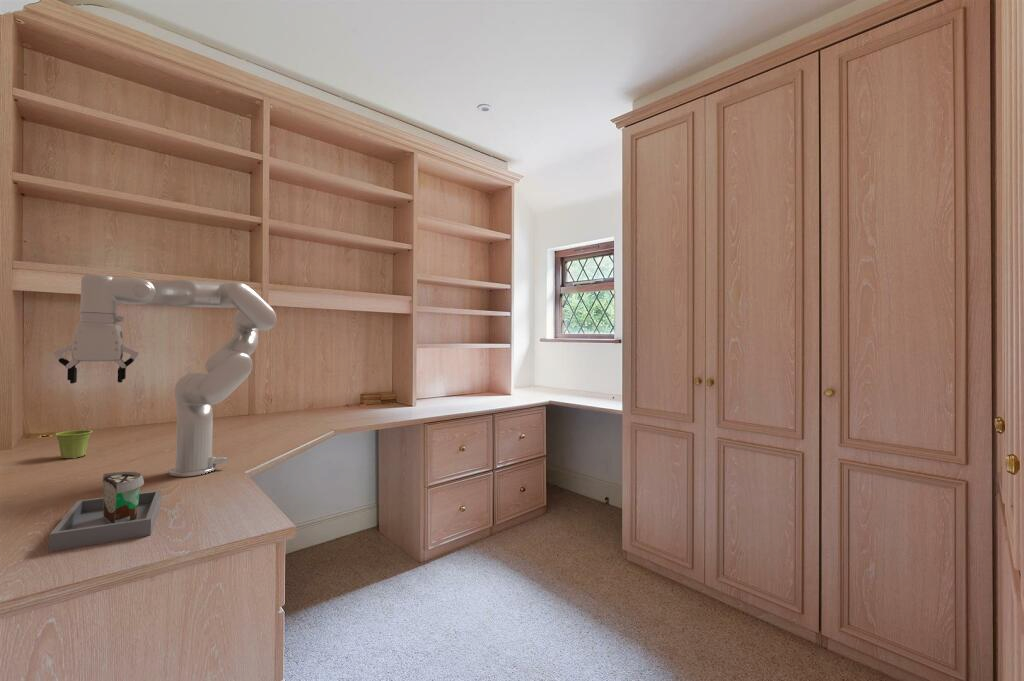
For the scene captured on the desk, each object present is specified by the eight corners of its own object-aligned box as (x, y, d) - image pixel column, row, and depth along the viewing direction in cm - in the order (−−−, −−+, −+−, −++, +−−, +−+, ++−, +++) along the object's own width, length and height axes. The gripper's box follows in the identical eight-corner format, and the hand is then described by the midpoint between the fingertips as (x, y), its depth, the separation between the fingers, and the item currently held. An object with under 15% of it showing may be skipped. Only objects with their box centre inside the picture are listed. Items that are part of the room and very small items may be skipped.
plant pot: (51, 457, 159) (52, 432, 159) (87, 452, 167) (88, 428, 167) (58, 462, 154) (59, 436, 154) (95, 456, 162) (95, 432, 162)
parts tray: (160, 503, 119) (161, 490, 119) (150, 535, 100) (151, 519, 100) (77, 515, 110) (77, 500, 110) (49, 551, 92) (49, 534, 92)
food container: (150, 521, 106) (151, 478, 106) (116, 529, 101) (117, 484, 101) (134, 508, 113) (135, 468, 113) (101, 515, 108) (102, 473, 108)
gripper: (141, 321, 133) (139, 380, 133) (59, 318, 124) (57, 382, 124) (137, 321, 127) (135, 383, 127) (51, 318, 118) (49, 384, 118)
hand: (97, 382), depth 125 cm, fingers open, 9 cm apart
